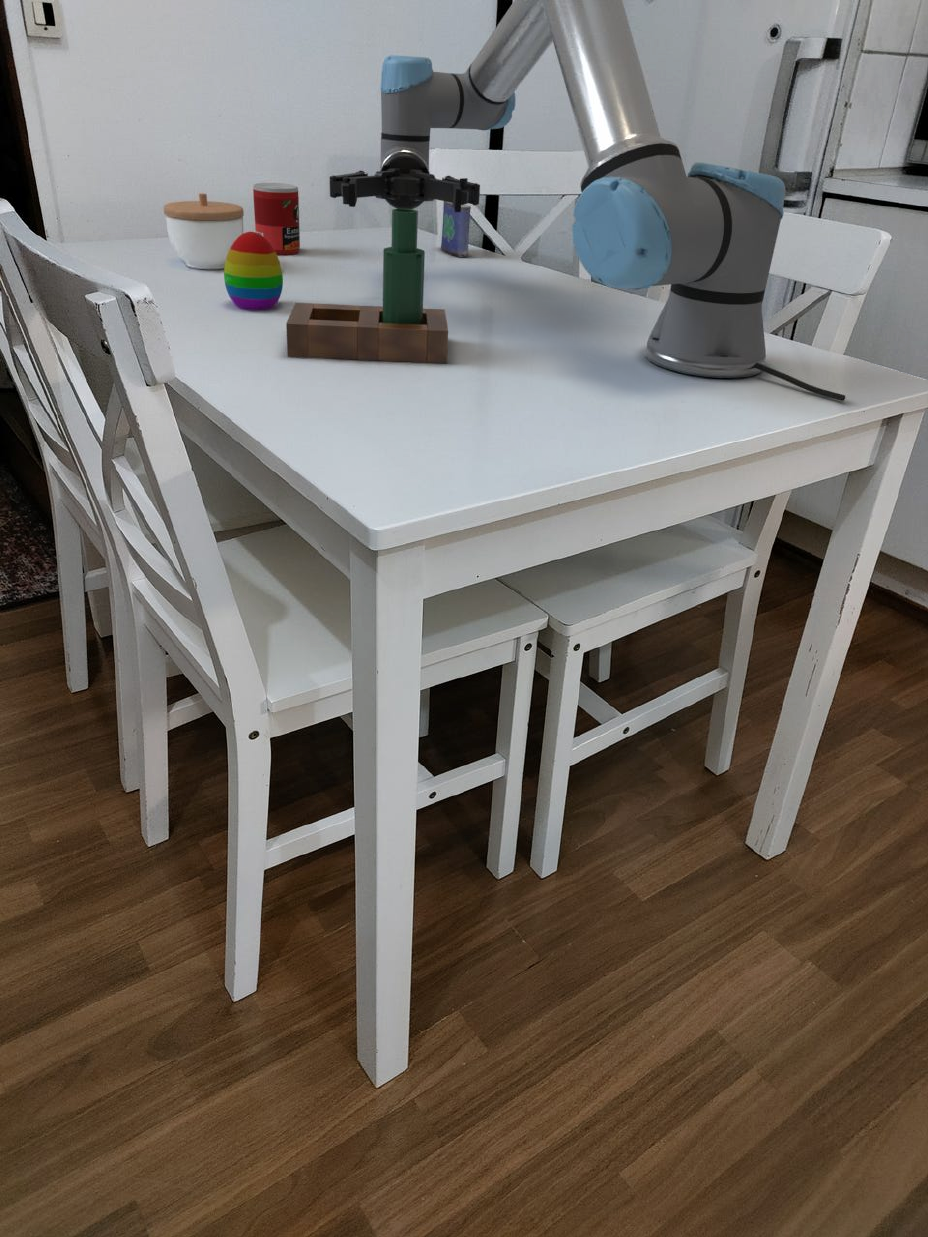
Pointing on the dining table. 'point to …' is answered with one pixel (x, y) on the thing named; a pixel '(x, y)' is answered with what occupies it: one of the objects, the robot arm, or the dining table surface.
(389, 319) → the bottle
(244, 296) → the decorative egg
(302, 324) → the rack
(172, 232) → the lidded bowl
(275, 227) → the canned food
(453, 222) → the flask
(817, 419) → the dining table surface
